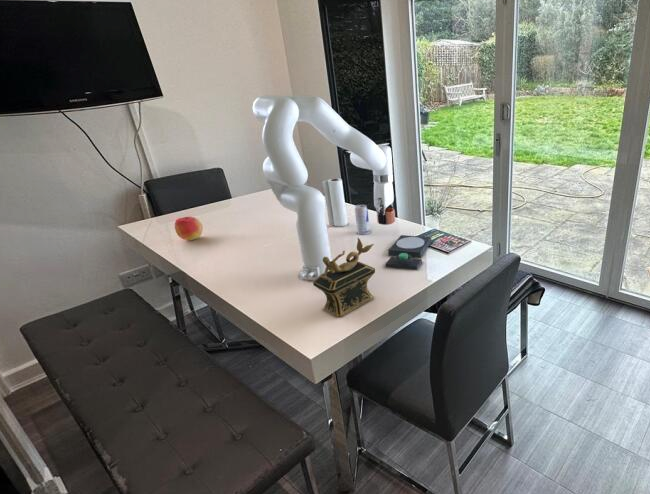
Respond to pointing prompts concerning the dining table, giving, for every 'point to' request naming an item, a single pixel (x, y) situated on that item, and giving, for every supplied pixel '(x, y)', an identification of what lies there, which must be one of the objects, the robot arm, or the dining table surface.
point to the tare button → (403, 256)
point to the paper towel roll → (335, 202)
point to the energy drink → (362, 219)
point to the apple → (188, 228)
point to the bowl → (389, 215)
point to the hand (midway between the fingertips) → (386, 220)
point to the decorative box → (345, 282)
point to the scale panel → (404, 263)
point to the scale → (410, 246)
